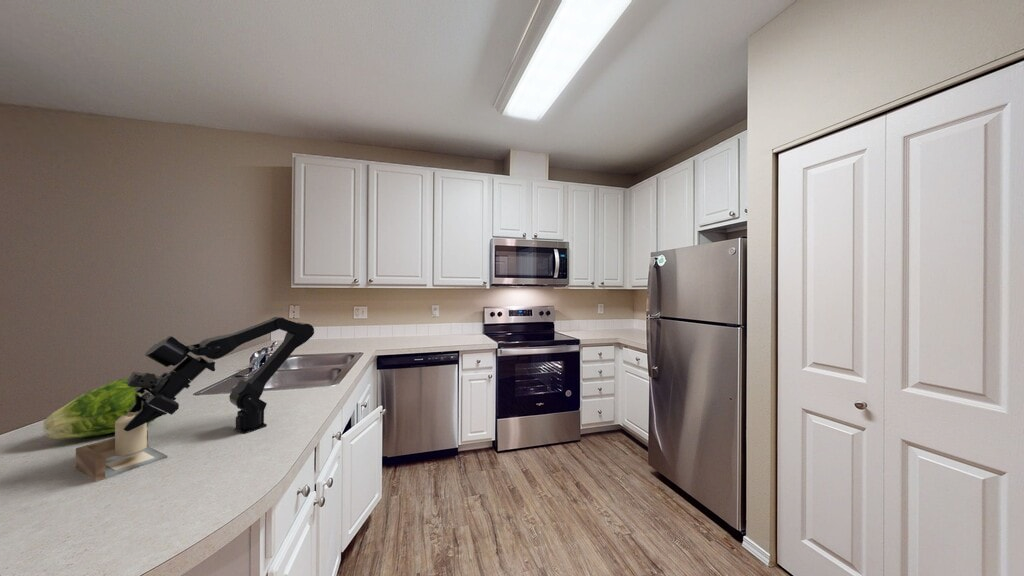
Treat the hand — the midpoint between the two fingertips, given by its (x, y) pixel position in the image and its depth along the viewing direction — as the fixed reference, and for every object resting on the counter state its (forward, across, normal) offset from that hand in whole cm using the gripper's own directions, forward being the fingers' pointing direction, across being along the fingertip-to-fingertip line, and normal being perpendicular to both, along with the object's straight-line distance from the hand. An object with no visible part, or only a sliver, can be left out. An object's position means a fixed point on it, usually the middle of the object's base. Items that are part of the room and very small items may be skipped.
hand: (123, 427), depth 86 cm
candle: (+4, 0, +6) cm, 7 cm away
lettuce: (+7, -31, +7) cm, 33 cm away
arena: (+7, -2, +7) cm, 10 cm away
